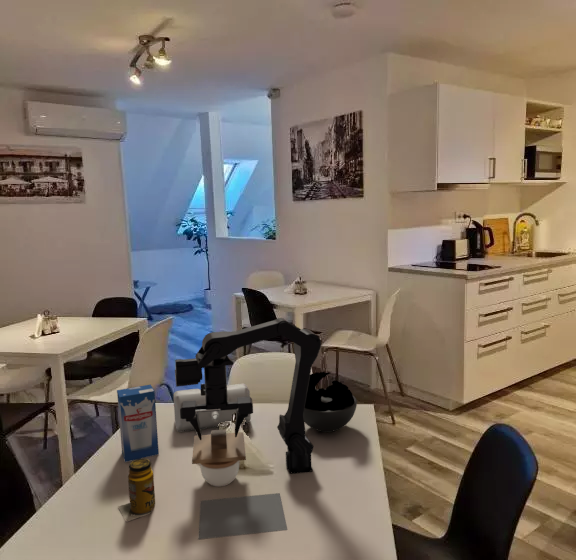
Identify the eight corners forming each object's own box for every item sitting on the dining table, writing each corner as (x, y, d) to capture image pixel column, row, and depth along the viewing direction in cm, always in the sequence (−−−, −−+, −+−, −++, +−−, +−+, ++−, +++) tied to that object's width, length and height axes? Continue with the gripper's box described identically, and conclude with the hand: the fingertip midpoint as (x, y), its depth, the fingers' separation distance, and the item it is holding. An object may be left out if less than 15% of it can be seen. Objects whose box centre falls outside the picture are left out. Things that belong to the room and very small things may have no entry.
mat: (279, 494, 131) (279, 492, 131) (287, 531, 117) (287, 529, 116) (200, 502, 129) (200, 500, 129) (198, 541, 114) (198, 539, 114)
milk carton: (155, 445, 160) (150, 384, 157) (159, 454, 154) (154, 390, 151) (121, 453, 155) (116, 390, 152) (124, 462, 150) (119, 397, 147)
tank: (176, 441, 162) (174, 404, 160) (174, 421, 178) (172, 386, 176) (254, 431, 168) (253, 394, 166) (246, 412, 184) (244, 378, 182)
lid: (243, 435, 144) (243, 420, 143) (245, 460, 131) (245, 443, 130) (194, 439, 142) (194, 423, 142) (192, 464, 129) (191, 447, 128)
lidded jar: (208, 497, 131) (206, 463, 130) (195, 477, 140) (193, 445, 139) (246, 485, 136) (245, 452, 134) (232, 467, 145) (230, 436, 144)
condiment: (161, 510, 126) (157, 464, 124) (126, 522, 122) (122, 475, 120) (151, 496, 132) (148, 452, 130) (117, 507, 128) (114, 462, 126)
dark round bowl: (296, 416, 179) (295, 364, 176) (354, 416, 178) (353, 363, 175) (295, 443, 159) (293, 385, 156) (360, 442, 158) (359, 384, 155)
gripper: (249, 369, 143) (251, 422, 145) (181, 373, 141) (184, 427, 143) (252, 383, 132) (254, 440, 134) (178, 388, 130) (181, 446, 132)
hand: (218, 437), depth 136 cm, fingers open, 9 cm apart
